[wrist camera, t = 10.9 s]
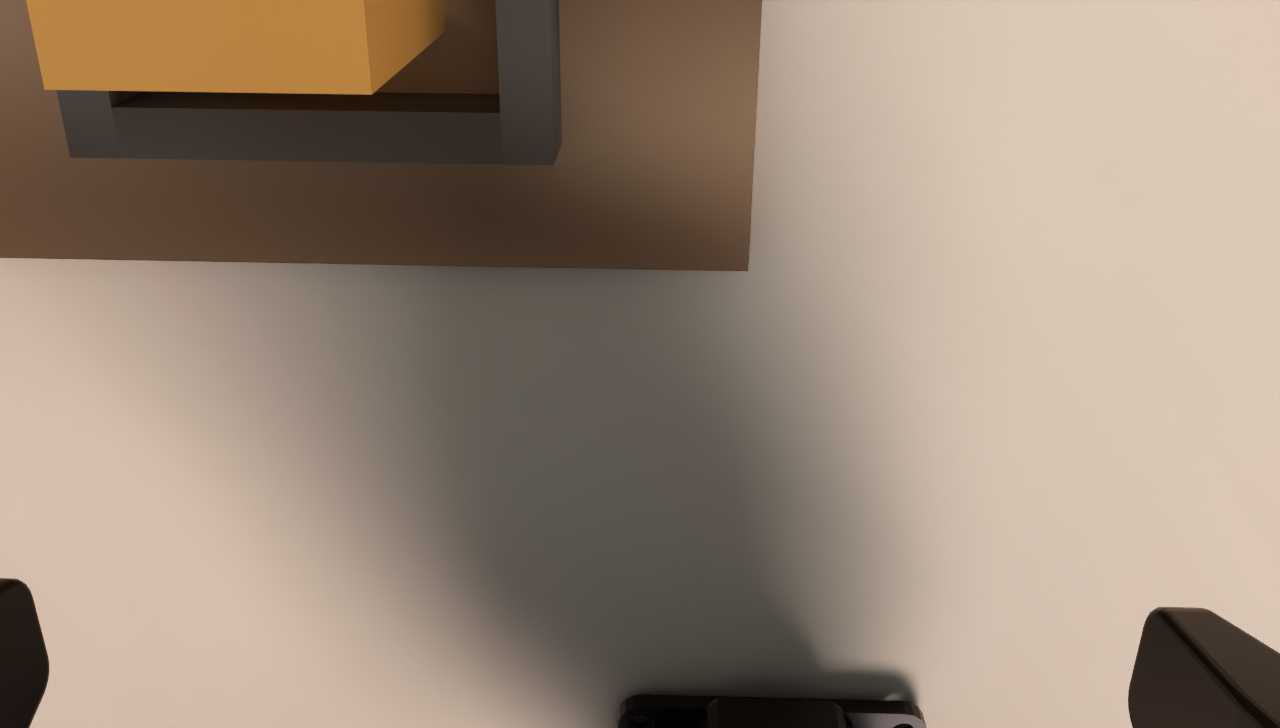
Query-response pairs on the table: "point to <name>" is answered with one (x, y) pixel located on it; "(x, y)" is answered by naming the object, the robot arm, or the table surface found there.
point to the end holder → (413, 150)
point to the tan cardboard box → (230, 44)
